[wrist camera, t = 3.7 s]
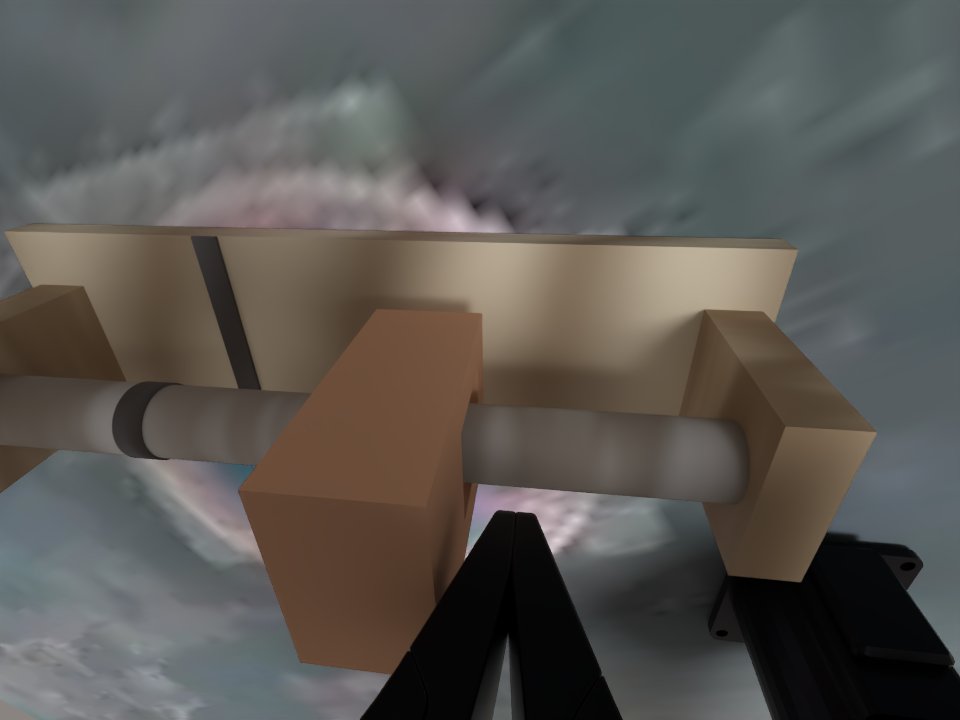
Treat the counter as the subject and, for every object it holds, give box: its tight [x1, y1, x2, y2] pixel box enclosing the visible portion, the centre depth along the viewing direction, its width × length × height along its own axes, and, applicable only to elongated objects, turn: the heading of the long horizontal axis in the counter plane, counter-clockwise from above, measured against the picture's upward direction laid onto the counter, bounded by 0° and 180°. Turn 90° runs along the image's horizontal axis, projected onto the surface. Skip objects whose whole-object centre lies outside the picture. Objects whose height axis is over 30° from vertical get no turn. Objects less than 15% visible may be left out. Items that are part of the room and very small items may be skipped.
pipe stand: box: [0, 224, 877, 582], centre depth 14 cm, size 24×8×6 cm, turn 91°
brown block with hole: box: [238, 309, 483, 674], centre depth 12 cm, size 3×5×7 cm, turn 1°
